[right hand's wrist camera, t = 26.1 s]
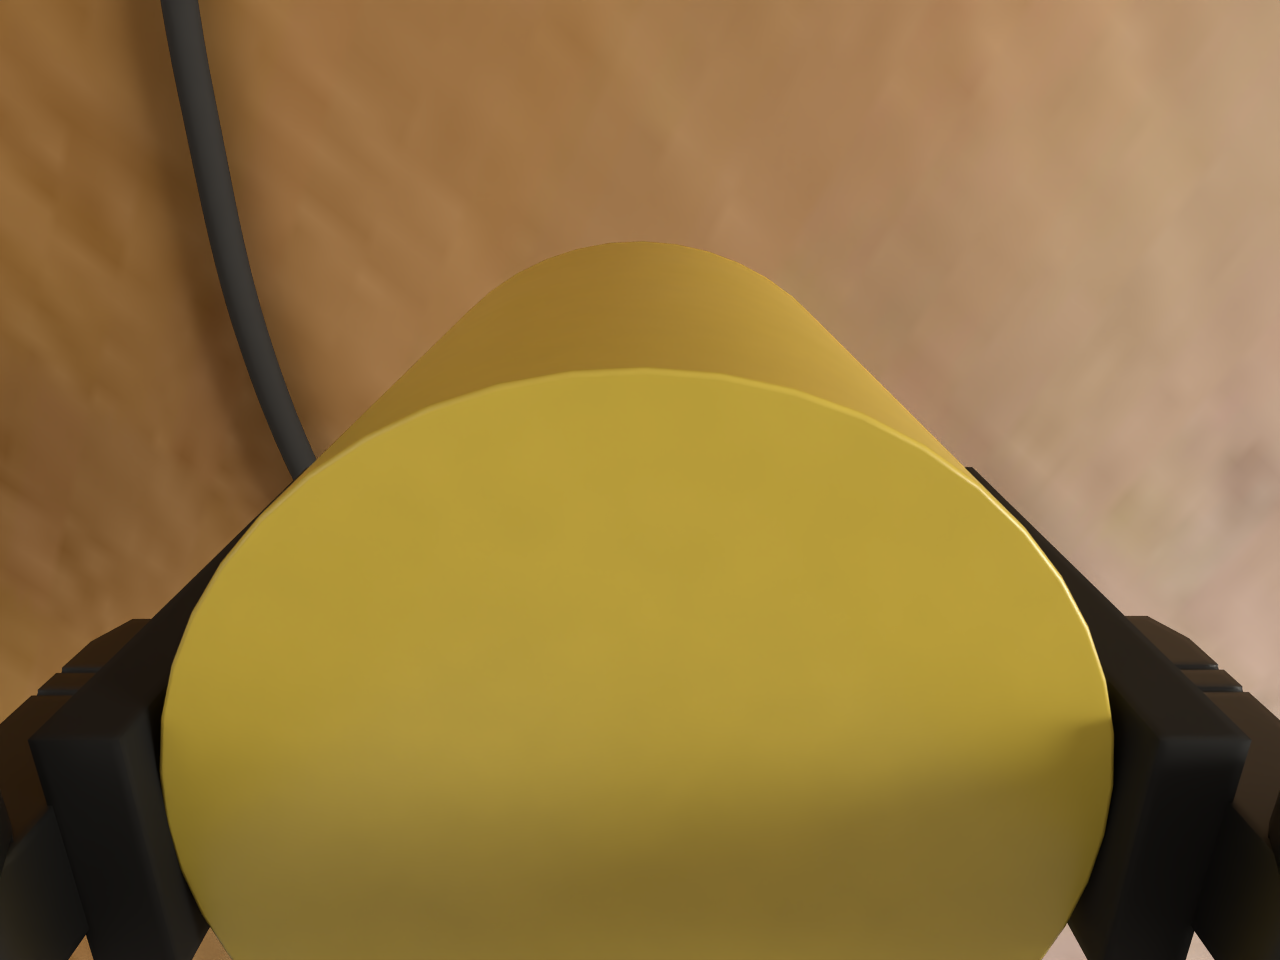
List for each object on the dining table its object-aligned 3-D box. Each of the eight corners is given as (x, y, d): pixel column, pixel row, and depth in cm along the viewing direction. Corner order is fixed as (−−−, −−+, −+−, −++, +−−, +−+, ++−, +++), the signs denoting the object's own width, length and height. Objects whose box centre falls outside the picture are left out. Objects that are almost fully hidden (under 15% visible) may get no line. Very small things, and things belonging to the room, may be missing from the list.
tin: (826, 184, 15) (1084, 240, 6) (898, 624, 18) (1138, 1067, 9) (339, 309, 15) (-27, 513, 7) (488, 711, 18) (358, 1197, 10)
